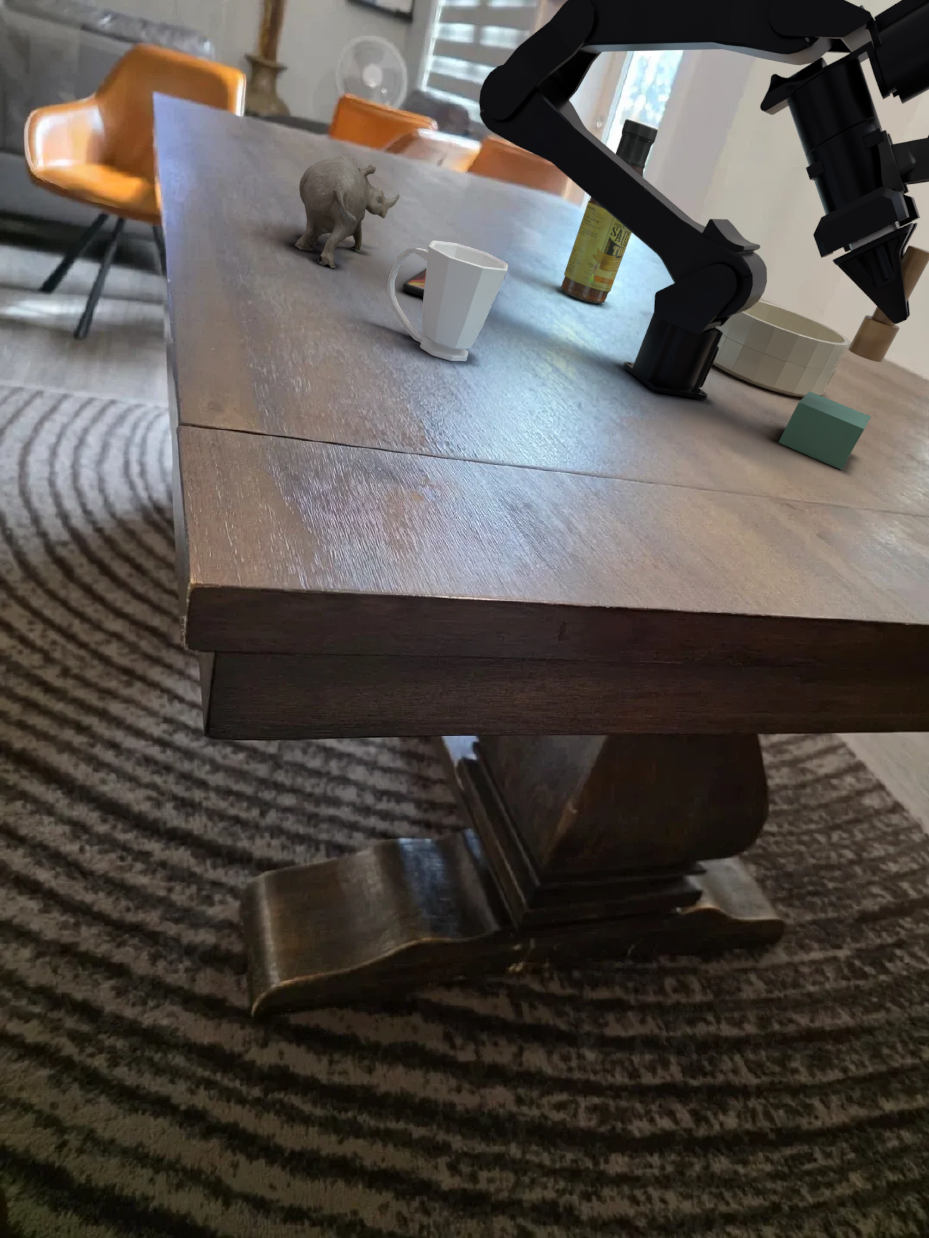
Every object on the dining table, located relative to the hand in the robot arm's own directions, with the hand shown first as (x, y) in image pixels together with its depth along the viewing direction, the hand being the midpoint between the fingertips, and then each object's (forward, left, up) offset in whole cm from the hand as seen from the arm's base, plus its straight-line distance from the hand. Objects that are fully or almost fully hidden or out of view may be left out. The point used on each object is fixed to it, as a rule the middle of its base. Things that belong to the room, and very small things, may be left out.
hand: (902, 320), depth 73 cm
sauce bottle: (-5, +43, -13) cm, 45 cm away
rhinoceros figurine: (-38, +41, -13) cm, 57 cm away
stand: (-1, +1, -13) cm, 13 cm away
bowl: (+9, +23, -13) cm, 28 cm away
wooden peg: (-1, +1, -4) cm, 4 cm away
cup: (-36, +13, -13) cm, 40 cm away
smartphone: (-27, +33, -13) cm, 44 cm away
